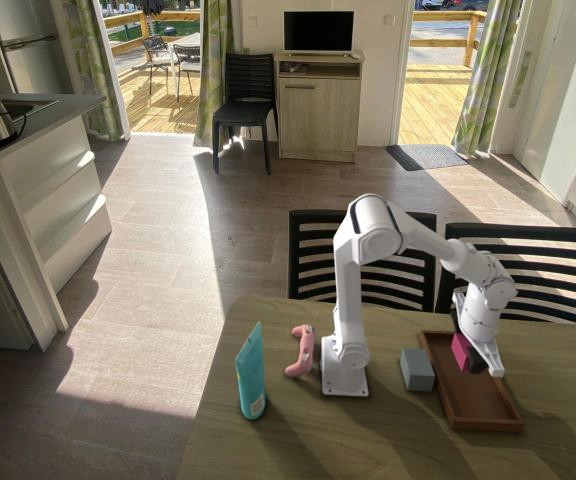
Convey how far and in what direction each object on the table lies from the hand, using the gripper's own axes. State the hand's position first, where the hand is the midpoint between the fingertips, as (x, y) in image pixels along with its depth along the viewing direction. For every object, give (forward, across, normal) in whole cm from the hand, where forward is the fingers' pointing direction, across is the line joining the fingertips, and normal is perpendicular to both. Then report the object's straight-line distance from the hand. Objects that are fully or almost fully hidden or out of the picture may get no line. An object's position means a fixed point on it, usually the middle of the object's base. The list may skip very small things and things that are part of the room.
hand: (467, 357), depth 62 cm
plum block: (+1, 0, 0) cm, 1 cm away
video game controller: (+7, +3, +35) cm, 36 cm away
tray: (+7, 0, 0) cm, 7 cm away
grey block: (+7, 0, +10) cm, 12 cm away
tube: (+7, -6, +45) cm, 46 cm away
